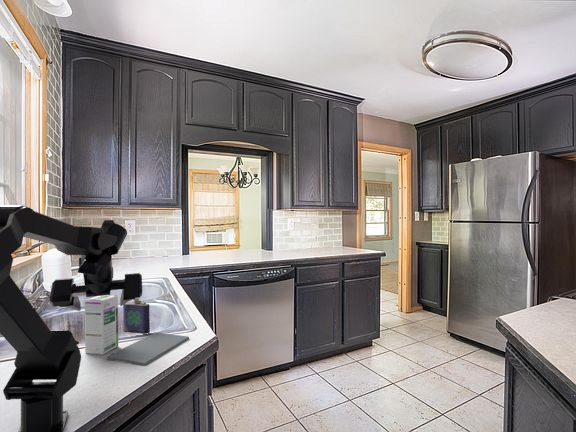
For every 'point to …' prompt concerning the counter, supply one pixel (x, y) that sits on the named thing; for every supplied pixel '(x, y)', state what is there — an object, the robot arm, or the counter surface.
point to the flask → (136, 317)
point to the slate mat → (148, 348)
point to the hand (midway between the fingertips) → (101, 306)
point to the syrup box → (101, 324)
